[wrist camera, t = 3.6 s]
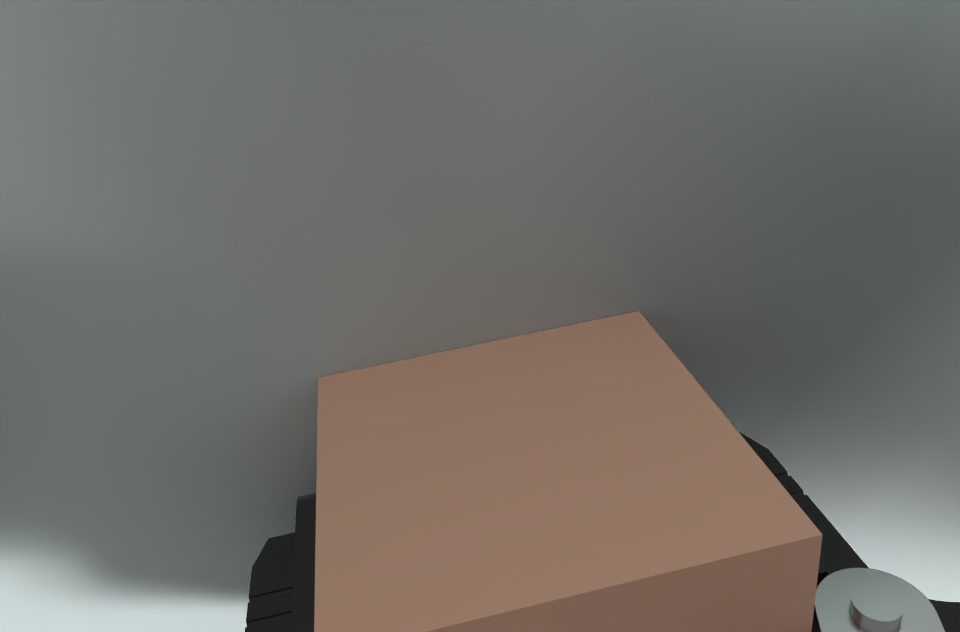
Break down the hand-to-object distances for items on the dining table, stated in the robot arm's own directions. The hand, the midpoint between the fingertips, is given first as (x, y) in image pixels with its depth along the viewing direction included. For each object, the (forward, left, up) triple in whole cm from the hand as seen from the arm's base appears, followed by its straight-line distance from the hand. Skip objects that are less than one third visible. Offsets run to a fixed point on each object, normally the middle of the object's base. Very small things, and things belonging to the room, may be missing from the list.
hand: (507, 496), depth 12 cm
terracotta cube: (0, 0, -1) cm, 1 cm away
